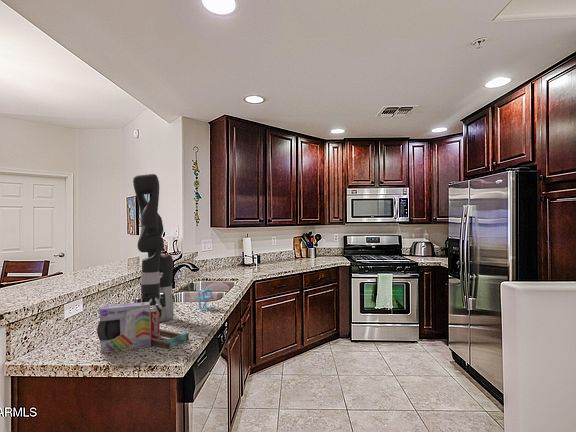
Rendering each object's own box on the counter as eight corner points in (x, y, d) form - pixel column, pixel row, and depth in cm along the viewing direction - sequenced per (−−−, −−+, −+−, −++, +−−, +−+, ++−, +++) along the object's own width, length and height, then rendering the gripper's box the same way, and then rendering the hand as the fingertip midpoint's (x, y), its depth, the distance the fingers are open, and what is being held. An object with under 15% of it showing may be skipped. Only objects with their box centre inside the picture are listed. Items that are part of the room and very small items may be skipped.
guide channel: (154, 332, 157) (154, 325, 157) (188, 340, 146) (188, 332, 146) (132, 340, 147) (132, 333, 147) (167, 348, 136) (167, 341, 136)
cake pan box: (96, 353, 132) (96, 307, 132) (99, 348, 137) (99, 304, 137) (150, 348, 138) (150, 304, 138) (151, 343, 143) (151, 301, 143)
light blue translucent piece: (207, 307, 204) (206, 286, 204) (215, 309, 198) (214, 288, 198) (195, 309, 198) (195, 288, 198) (203, 311, 192) (203, 290, 193)
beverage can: (161, 335, 152) (161, 308, 153) (156, 340, 146) (156, 311, 146) (147, 335, 152) (147, 308, 152) (141, 340, 146) (141, 312, 146)
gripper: (158, 279, 158) (158, 315, 157) (130, 283, 145) (129, 322, 145) (169, 280, 154) (169, 317, 153) (141, 285, 141) (141, 325, 141)
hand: (150, 320), depth 149 cm, fingers open, 8 cm apart
